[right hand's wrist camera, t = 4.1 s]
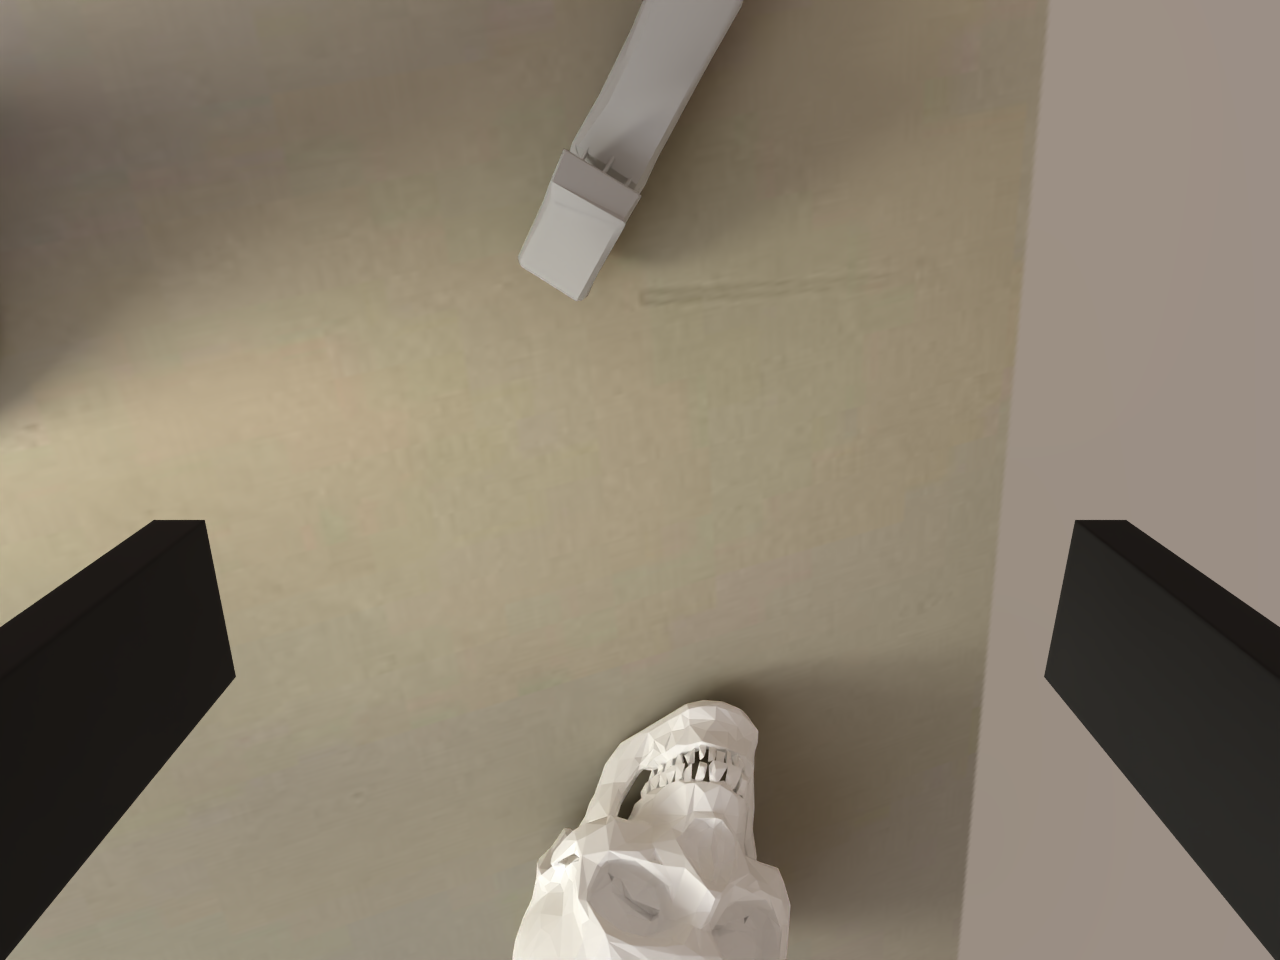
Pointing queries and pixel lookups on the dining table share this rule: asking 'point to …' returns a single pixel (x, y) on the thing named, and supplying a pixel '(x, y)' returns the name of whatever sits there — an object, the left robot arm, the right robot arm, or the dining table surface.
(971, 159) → the dining table surface
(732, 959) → the skull
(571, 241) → the clamp
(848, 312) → the dining table surface
